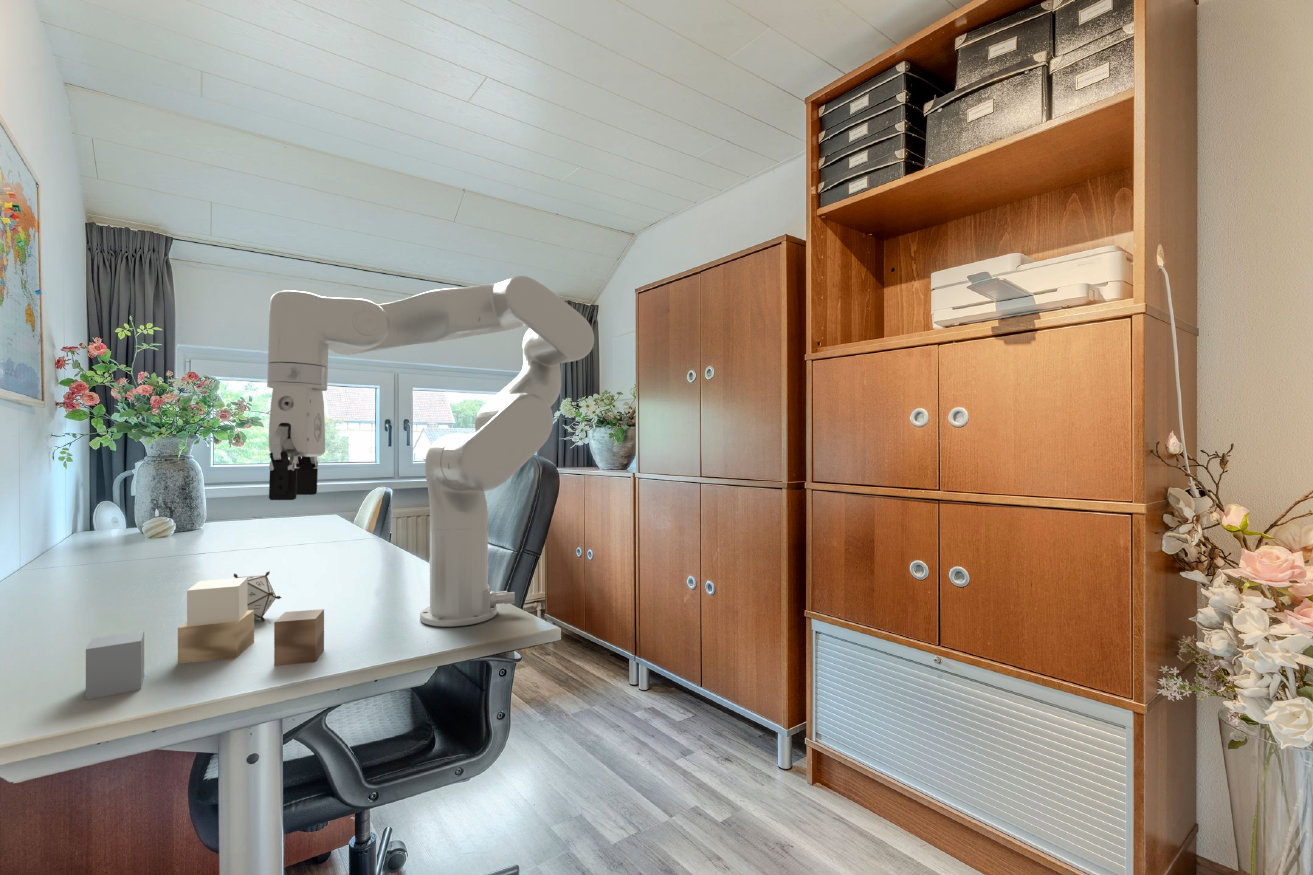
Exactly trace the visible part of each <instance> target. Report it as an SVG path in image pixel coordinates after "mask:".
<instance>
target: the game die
mask: <svg viewBox="0 0 1313 875" xmlns="http://www.w3.org/2000/svg"><path fill="white" fill-rule="evenodd" d="M269 575H270V570H269V571H267V572H265V575H251V576H238V574H237V573H233V577H234V578H246V577H247V610H254V620H255V619H260V621H261V622H263V623H265V621H266V619H265V617H264V616H265V614H267V611H268V610H269V609H270V608H271V606H272V605H273V603H274V602H275V600H280V599H282V596H280V595H276V593H275V591H274V589H273V587H272V584H271V582H270V580H269V578H268V576H269Z"/></svg>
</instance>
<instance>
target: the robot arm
mask: <svg viewBox="0 0 1313 875" xmlns="http://www.w3.org/2000/svg"><path fill="white" fill-rule="evenodd" d="M268 316H269V320H268V321H269V322H268V323H269V324H268V345H267V346H268V350H267V351H268V352H267V381H266V382H267V383H266V384H267V385H266V387H267V388H270V389H272V393H271V402H270V410H269V424H268V425H269V426H268V450H269V454H268V455H269V458H270V462H269V464H268V465H269V466H268V467H269V480H268V482H269V486H268V499H269V500H270V501H295V500H296V499H297V495H298V496H307V495H310V496H312V495H313V496H315V495H316V494H318V475H319V472H318V470H319V469H318V468H319V467H318V466H319V462H318V457H321V456H323V455H324V454H325V452H326V427H325V426H326V425H325V423H326V422H325V402H324V394H323V392H327V391H328V375H329V374H328V373H329V371H328V370H329V369H328V368H329V350H330V351H331V352H333V353H335V354H339V355H343V356H344V355H345V356H349V355H350V356H351V355H357V354H364V353H369V352H376V351H381V350H387V349H393V348H394V349H395V348H399V347H405V346H412V345H420V344H421V345H422V344H433V343H434V344H435V343H439V342H444V341H450V340H457V339H463V338H467V337H473V336H475V337H476V336H480V335H488V334H494V333H500V332H506V331H510V330H513V329H518V328H522V327H525V326H526V327H527V328H528V329H527V330H526V332H525V333H524V336H523V338H522V345H521V346H522V350H521V351H522V357H523V358H522V360H523V363H522V368H521V371H520V372H519V374H517V376H516V377H515V378H514V379H512V380H511V382H509V383H508V384H507V385H506V386H505V387H504V388H502V389H501V390H500V391H499V392H498V393H496V394H495V395H494V396H493V397H492V398H491V399H489V400H488V401H487V402H485V404H483V406H482V407H481V408H480V409H479V411H478V412H477V414H476V417H475V420H474V428H475V429H474V430H475V432H454V433H453V432H452V433H448V434H445V435H443V436H441V437H439V438H438V439H436V440H435V441H433V443H432V444H431V445H430V447H429V449H428V451H427V453H426V456H425V461H424V470H425V471H424V472H425V478H426V484H427V491H428V492H427V493H428V498H429V499H428V500H429V606H428V607H425V608H424V609H423V610H421V612H420V613H419V620H420V622H421V623H423V624H425V625H427V626H433V627H441V628H442V627H445V628H446V627H447V628H448V627H449V628H450V627H464V626H469V625H475V624H480V623H483V622H486V621H488V620H490V619H493V618H495V616H496V615H497V614H498V606H497V605H501V604H502V605H503V604H504V605H509V604H515V602H516V595H515V594H516V593H515V591H512V592H511V591H510V592H508V591H507V590H501V591H494V590H491V588H490V584H488V583H489V582H488V581H489V577H488V576H489V567H488V566H489V561H488V560H489V556H488V555H489V554H488V553H489V551H488V549H489V548H488V546H489V544H488V543H489V542H488V540H489V538H488V536H489V534H488V533H489V531H488V527H489V526H488V525H489V522H488V521H489V515H488V514H489V512H488V505H487V502H488V501H487V498H486V493H485V492H487V491H492V490H495V489H498V488H499V487H500V486H501V485H503V484H504V483H506V482H507V481H508V480H509V479H510V478H512V476H513V475H515V474H516V473H517V472H518V471H519V469H520V468H522V467H523V466H524V465H525V464H526V463H527V462H528V461H529V460H530V459H531V458H533V456H534V455H535V454H536V453H537V452H538V451H539V450H540V449H541V448H542V447H543V446H544V445H545V443H546V442H547V440H548V439H549V438H550V435H551V432H552V430H553V426H554V414H553V410H552V408H551V407H552V406H553V405H554V404H555V403H556V401H557V400H558V398H559V396H560V393H561V389H562V388H561V387H562V374H561V373H562V371H561V365H560V364H563V363H564V364H565V363H571V362H576V361H579V360H582V359H584V358H585V357H587V356H588V355H589V354H590V352H592V350H593V348H594V345H595V344H594V343H595V336H594V335H595V334H594V331H593V328H592V326H591V324H590V323H589V321H588V320H587V319H586V317H584V316H583V315H582V314H581V313H580V312H579V311H577V310H576V309H575V308H574V307H572V306H571V305H570V304H568V303H567V302H566V301H565V300H564V299H562V298H561V297H560V296H559V295H557V294H556V293H555V292H553V290H550V289H549V288H548V287H546V286H545V285H544V284H542V283H541V282H539V281H537V280H536V279H534V278H531V277H528V276H526V275H516V276H513V277H510V278H508V279H505V280H503V281H500V282H496V283H488V284H478V285H472V286H471V285H469V286H459V287H452V288H451V287H450V288H448V287H447V288H441V289H439V288H438V289H433V290H429V291H426V292H422V293H419V294H416V295H413V296H410V297H407V298H404V299H401V300H395V301H392V302H386V303H381V304H377V303H375V302H373V301H371V300H369V299H364V298H355V297H353V298H352V297H332V296H331V297H330V296H328V297H327V296H321V295H318V294H315V293H312V292H307V291H299V290H281V291H277V292H274V294H272V296H271V297H270V301H269V315H268Z"/></svg>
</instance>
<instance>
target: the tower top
mask: <svg viewBox="0 0 1313 875" xmlns="http://www.w3.org/2000/svg"><path fill="white" fill-rule="evenodd" d="M245 577H246V578H235V577H234V578H223V579H222V578H221V579H210V580H209V579H207V580H200V581H197V582H196V583H195V584H193V585H192V586H191V587H189V589H187V590H186V622H187V627H189V626H198V625H208V624H218V623H227V622H237V621H240V619H241V618H242V617H243V615H244V614H245V613H246V612H247V577H248V576H245Z"/></svg>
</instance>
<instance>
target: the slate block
mask: <svg viewBox="0 0 1313 875" xmlns="http://www.w3.org/2000/svg"><path fill="white" fill-rule="evenodd" d="M144 679H145V630H138V631H132V632H126V633H120V634H119V633H118V634H114V635H113V634H112V635H105V636H98V637H92V638H91V639H90V641H89V643H88V645H87V646H86V648H85V701H86V700H92V699H96V698H97V699H98V698H103V697H107V696H112V695H119V694H123V693H128V692H129V693H130V692H134V691H139V690H142V688H143V683H144Z"/></svg>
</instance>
